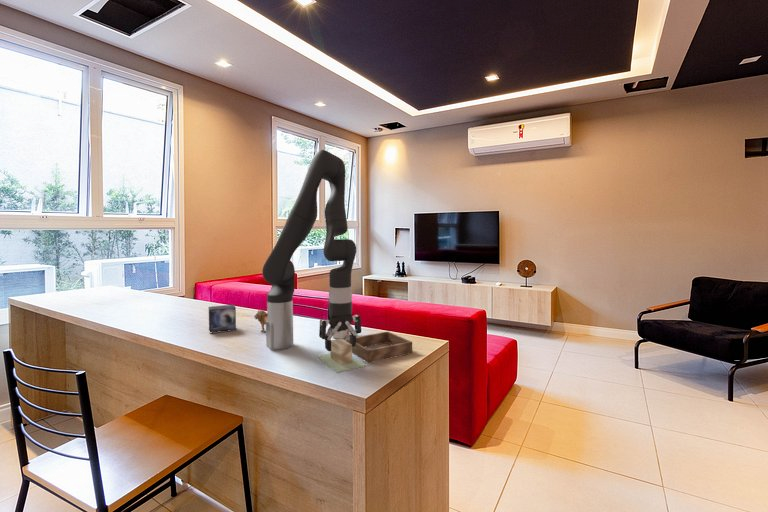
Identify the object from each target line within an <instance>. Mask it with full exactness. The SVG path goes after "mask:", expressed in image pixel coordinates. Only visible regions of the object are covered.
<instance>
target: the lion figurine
mask: <svg viewBox="0 0 768 512" xmlns="http://www.w3.org/2000/svg"><path fill="white" fill-rule="evenodd" d="M253 317H254V319H255V320H257V321H258V322H259V323H260V325H261V329H262V330H260V332H261V331H264V332H265V326H266V321H267V312H266V311H265V310H263V309H258V310H257V313H255V315H253Z"/></svg>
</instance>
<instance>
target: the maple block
mask: <svg viewBox="0 0 768 512" xmlns="http://www.w3.org/2000/svg"><path fill="white" fill-rule="evenodd" d="M330 340H331V339H330ZM330 354H331V358H332V359H333V360H334V361H336V362H337V363H339V364H340V365H344V364H349V363H352V356H353V353H352V345H351V344H350V343H348V342H346V340H344V339H339V338H335V339H332V340H331V351H330Z"/></svg>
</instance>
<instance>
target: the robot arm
mask: <svg viewBox="0 0 768 512" xmlns="http://www.w3.org/2000/svg"><path fill="white" fill-rule="evenodd" d="M322 180H325V181H326V182H328V184H329V187H330V195H329V198H328V200H327V202H326V204H325V207H324V219H325V230H326V232H325V233H326V234H325V241H324V245H323V255H324V257H325V259H326V260H327V261H328V262H343V263H342V265H340V266H339V267H336V268H335V267H334V268H332V269H330V270H329V289H328V290H329V291H328V315H329V318H328V319H323V318H322V319H320V320H319V333H318V335H319V336H318V337H319V338H321V340H324V348H325V350H326V351H328V352H331V339H333V335H334V334H335V333H336V331H337V332H340V331H346V330H348V331H349V334H350V335H349V338H350V344H351V345H352V347H355V345H356V337H357V335H358V334H361V333H362V320H361V319H362V318H361V317H362V316H360V315H359V314H354V315H353V314H352V313H353V292H352V272H353V267H354V262H355V258H356V254H357V245H356V243H355V241H354V240H352V239H349V238H347V239H346V238H344V239H342V238H341V239H335V238H336V237H339V236H342V235H345V234H346V233H347V232H348V221H347V214H346V205H345V203H346V202H345V200H346V199H345V198H346V197H345V195H346V194H345V193H346V166H345V162H344V160H343V159H342V158H340V157H338V156H337V155H335V154H333V153H332V152H329V151H328V150H325V149H320V150H318V151H317V152H316V153H315V154H314V155H313V157H312V158H311V160H310V163H309V166H308V168H307V172H306V174H305V177H304V180H303V182H302V186H301V188H300V190H299V193H298V195H297V198H296V199H295V201H294V203H293V206H292V208H291V209H290V212H289V214H288V216H287V218H286V220H285V224H284V226H283V228H282V229H281V232H280V234H279V237H278V239H277V242H276V243H275V246H273V248H272V250H271V252H270V254H269V255H268V257H267V259H266V260H265V262H264V264H263V266H262V270H261V271H262V277H263V279H264V281H265V282H267V283H268V284H271V287H270V290H269V291H268V292H267V294H266V311H267V312H266V313H267V321H266V325H265V335H266V337H265V339H266V346H267V348H268V349H269V350H271V351H272V350H285V349H289V348H292V347H293V346H294V307H293V306H294V304H293V303H294V302H293V296H294V293H295V287H296V286H295V284H296V282H295V281H296V279H295V278H296V270H295V266H294V263H293V261H292V260H291V259H292V257H293V255H294V253H295V252H296V251H297V250H298V248H299V247H300V245H301V244H302V243H303V242H304V241H305V240H306V239H307V237H308V236H309V235H310V233H311V231H312V229H313V227H314V225H315V222H316V220H317V218H318V200H317V195H318V190H319V187H320V184H321V183H322ZM352 322H353V323H354V327H353V326H352ZM328 325H329V327H328ZM327 327H328V329H327Z"/></svg>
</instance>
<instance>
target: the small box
mask: <svg viewBox="0 0 768 512" xmlns="http://www.w3.org/2000/svg"><path fill="white" fill-rule="evenodd" d="M236 313H237V311H236V306H235V304H227V305H226V304H224V305H216V306H215V305H214V306H208V331H210V332H218V331H227V332H229V331H228V330H236V331H237V320H236V319H237V314H236ZM210 332H209V333H210ZM218 333H219V332H218Z"/></svg>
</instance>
